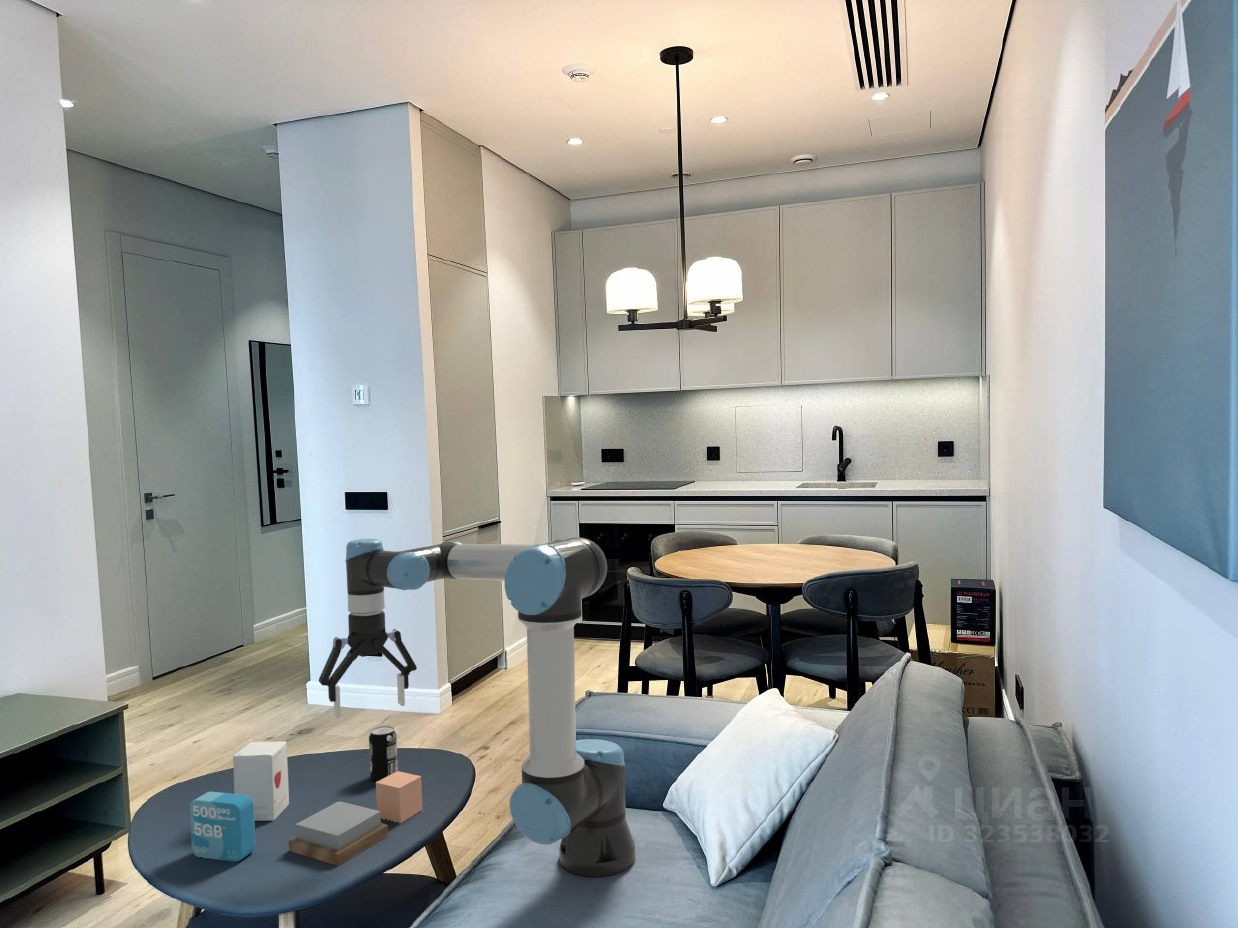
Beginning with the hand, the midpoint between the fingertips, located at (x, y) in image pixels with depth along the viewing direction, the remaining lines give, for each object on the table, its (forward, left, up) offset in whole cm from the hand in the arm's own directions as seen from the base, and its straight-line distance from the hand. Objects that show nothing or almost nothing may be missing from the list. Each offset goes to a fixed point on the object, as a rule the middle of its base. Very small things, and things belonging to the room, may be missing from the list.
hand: (370, 709), depth 188 cm
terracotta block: (0, -8, -26) cm, 28 cm away
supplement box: (+29, +5, -27) cm, 40 cm away
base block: (+2, +8, -27) cm, 28 cm away
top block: (+3, +8, -24) cm, 25 cm away
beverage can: (+18, -22, -27) cm, 39 cm away
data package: (+20, +22, -27) cm, 40 cm away
